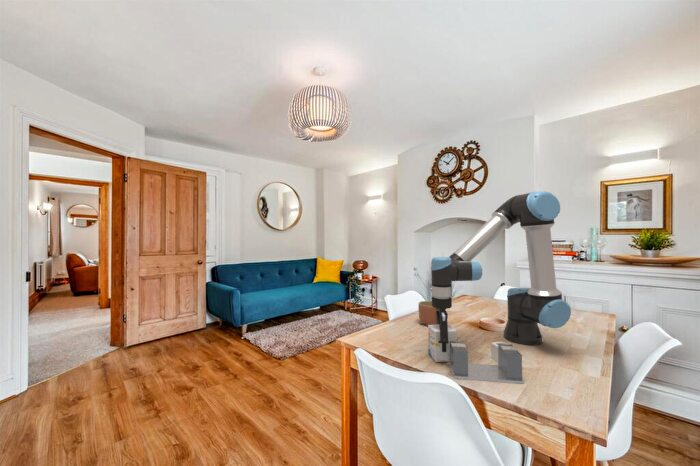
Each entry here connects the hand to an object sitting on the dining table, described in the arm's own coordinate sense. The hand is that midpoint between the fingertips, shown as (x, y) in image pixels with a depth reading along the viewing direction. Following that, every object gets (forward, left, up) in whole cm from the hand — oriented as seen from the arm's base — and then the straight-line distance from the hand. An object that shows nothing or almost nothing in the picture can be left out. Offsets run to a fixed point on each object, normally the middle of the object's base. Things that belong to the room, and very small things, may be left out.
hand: (442, 354), depth 114 cm
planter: (+1, -42, -1) cm, 42 cm away
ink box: (0, 0, -1) cm, 1 cm away
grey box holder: (-12, +11, -1) cm, 17 cm away
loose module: (-22, 0, -1) cm, 22 cm away
